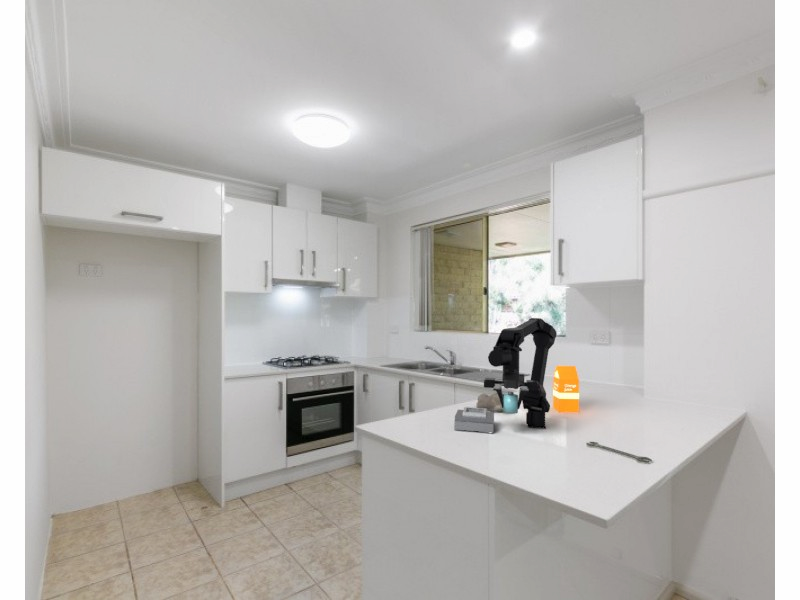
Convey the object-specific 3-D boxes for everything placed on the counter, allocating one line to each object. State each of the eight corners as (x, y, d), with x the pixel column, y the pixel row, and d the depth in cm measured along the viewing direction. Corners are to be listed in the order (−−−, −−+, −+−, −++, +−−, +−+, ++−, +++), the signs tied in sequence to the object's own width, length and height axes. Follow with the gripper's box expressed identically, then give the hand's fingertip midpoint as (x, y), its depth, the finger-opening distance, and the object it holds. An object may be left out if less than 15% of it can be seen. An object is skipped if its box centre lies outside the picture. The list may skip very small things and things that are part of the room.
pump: (517, 410, 149) (517, 391, 149) (518, 414, 144) (518, 393, 144) (503, 409, 150) (503, 390, 150) (503, 413, 145) (503, 393, 145)
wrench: (654, 462, 123) (592, 444, 140) (654, 457, 123) (592, 439, 140) (646, 467, 120) (583, 448, 137) (646, 462, 120) (583, 443, 137)
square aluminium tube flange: (493, 424, 161) (494, 407, 161) (493, 434, 149) (493, 415, 149) (457, 421, 164) (458, 405, 164) (454, 430, 152) (454, 412, 152)
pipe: (486, 430, 181) (517, 415, 176) (475, 418, 178) (506, 402, 173) (481, 404, 195) (509, 390, 191) (471, 392, 192) (499, 377, 187)
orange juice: (579, 412, 182) (579, 367, 183) (559, 412, 182) (559, 366, 183) (571, 408, 190) (572, 364, 190) (552, 408, 190) (553, 364, 191)
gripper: (483, 366, 142) (482, 411, 141) (540, 368, 137) (540, 415, 137) (484, 362, 152) (484, 404, 152) (537, 364, 148) (537, 408, 147)
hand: (510, 408), depth 147 cm, fingers closed on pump, 5 cm apart
